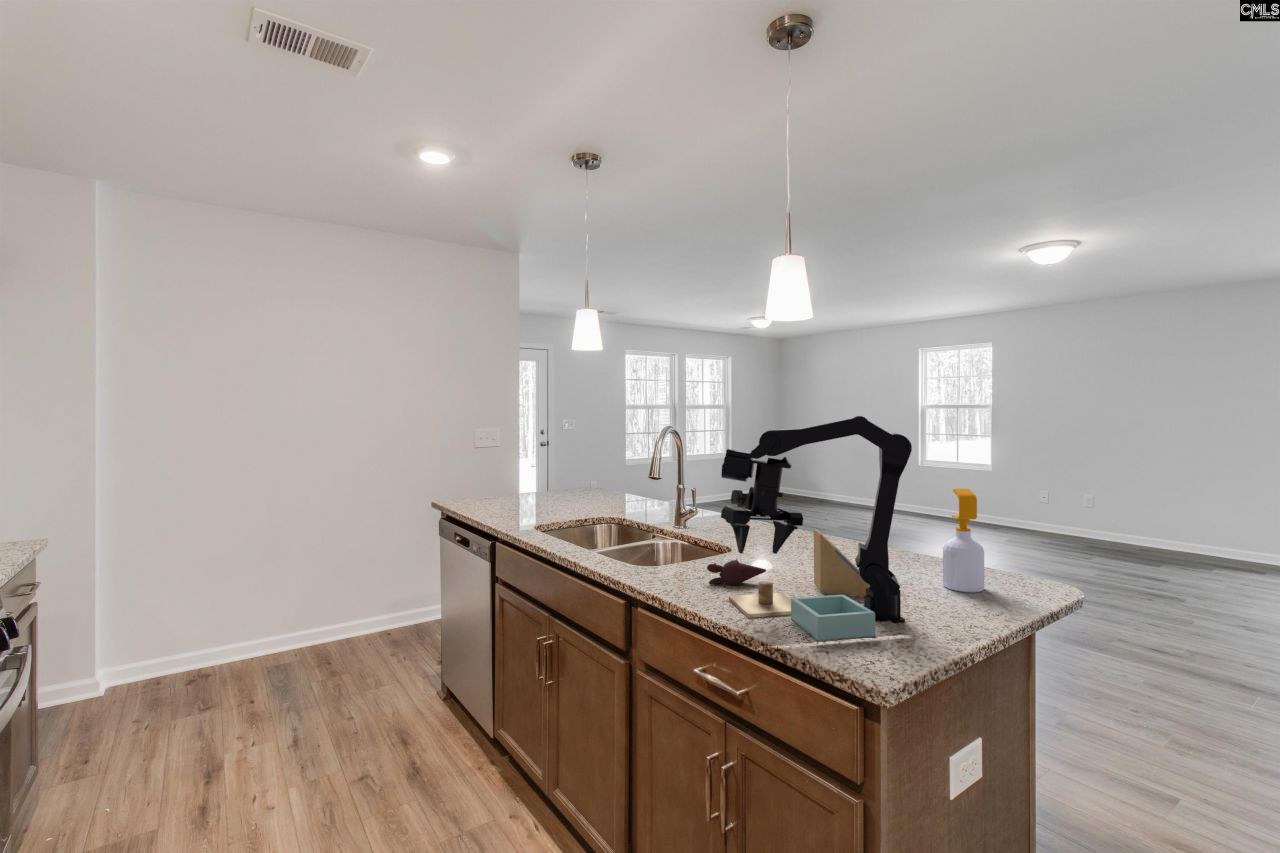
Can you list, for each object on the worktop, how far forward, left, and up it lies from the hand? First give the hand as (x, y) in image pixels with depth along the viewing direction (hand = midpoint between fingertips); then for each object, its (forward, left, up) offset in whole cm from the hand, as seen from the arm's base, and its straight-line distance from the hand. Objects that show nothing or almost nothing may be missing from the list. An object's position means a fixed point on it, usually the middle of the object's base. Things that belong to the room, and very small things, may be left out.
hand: (757, 553), depth 135 cm
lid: (-1, +1, -12) cm, 12 cm away
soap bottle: (-55, -4, -13) cm, 57 cm away
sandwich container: (-27, -8, -13) cm, 31 cm away
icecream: (-1, -18, -13) cm, 22 cm away
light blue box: (-9, +16, -12) cm, 22 cm away
